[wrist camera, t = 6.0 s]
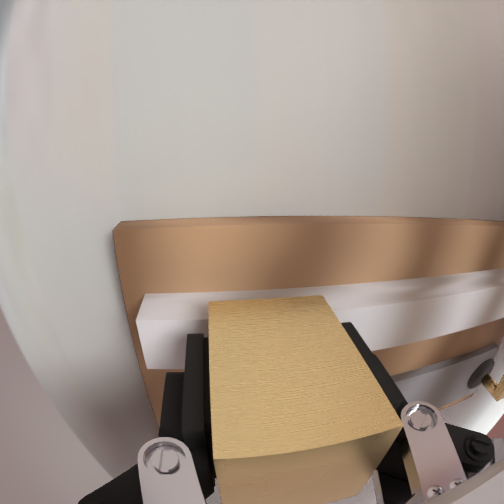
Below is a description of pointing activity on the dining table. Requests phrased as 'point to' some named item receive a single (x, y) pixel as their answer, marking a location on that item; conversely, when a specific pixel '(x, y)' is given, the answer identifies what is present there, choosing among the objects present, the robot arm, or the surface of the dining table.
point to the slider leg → (292, 404)
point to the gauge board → (304, 265)
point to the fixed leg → (494, 386)
